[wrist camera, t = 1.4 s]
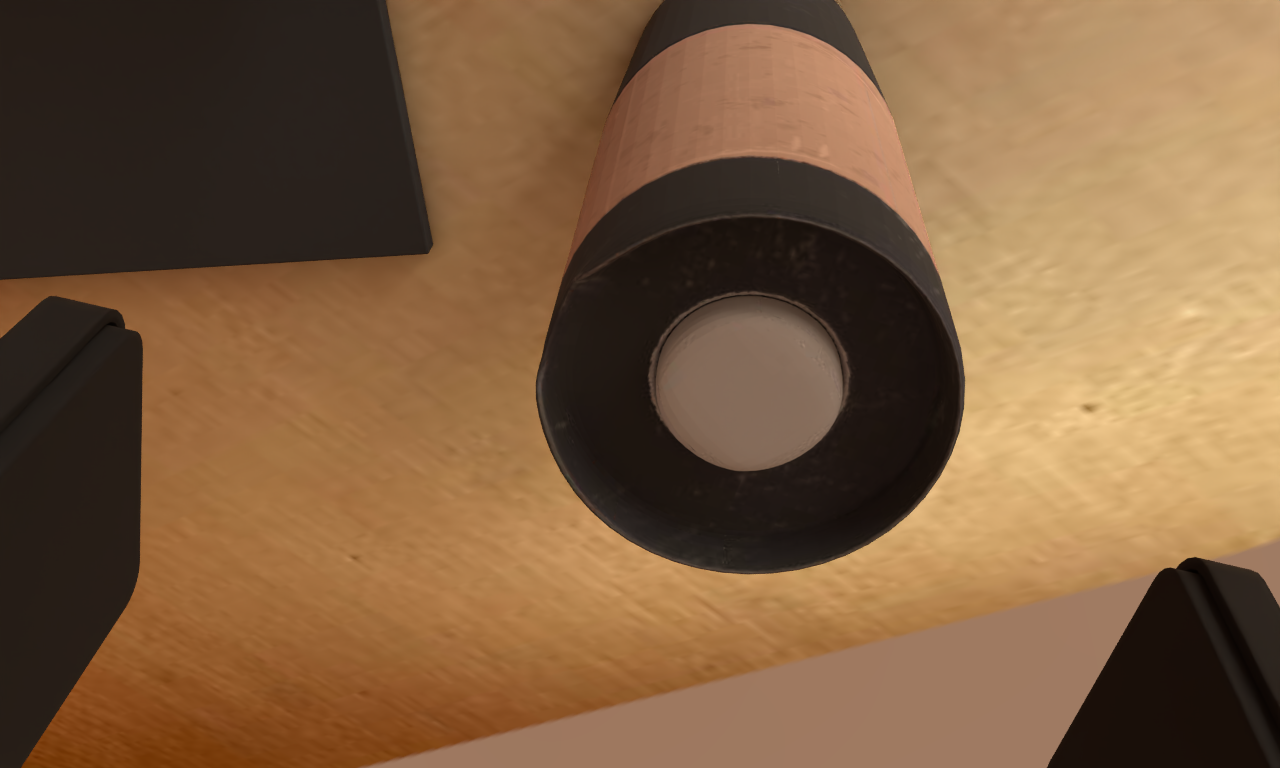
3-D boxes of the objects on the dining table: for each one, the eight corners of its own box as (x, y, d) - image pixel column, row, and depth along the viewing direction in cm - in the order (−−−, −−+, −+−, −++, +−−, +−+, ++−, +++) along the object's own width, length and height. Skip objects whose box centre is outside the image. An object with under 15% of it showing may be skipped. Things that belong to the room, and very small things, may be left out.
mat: (-257, -69, 39) (-275, -65, 38) (361, -129, 36) (353, -125, 36) (-105, 278, 44) (-118, 287, 44) (434, 245, 42) (428, 254, 42)
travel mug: (904, 139, 39) (1029, 511, 22) (684, 226, 41) (640, 627, 24) (819, -93, 36) (888, 128, 19) (584, 14, 38) (451, 303, 21)
